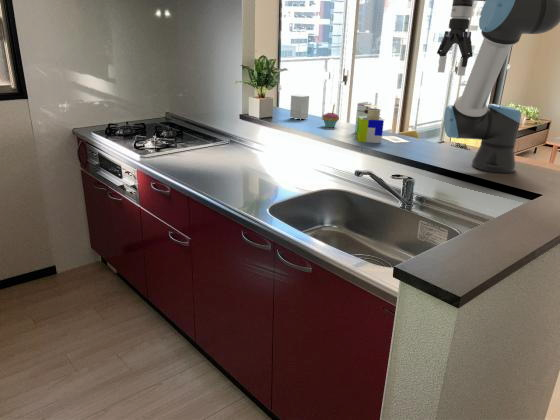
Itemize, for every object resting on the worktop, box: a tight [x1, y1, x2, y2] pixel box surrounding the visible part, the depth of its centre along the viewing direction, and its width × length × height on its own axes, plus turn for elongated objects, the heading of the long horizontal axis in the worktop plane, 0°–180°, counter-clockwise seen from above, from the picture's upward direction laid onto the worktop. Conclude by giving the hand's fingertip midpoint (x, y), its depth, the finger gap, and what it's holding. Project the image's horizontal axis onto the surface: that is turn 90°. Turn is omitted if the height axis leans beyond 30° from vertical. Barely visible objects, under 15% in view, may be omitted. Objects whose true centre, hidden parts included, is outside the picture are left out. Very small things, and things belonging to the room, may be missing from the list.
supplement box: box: [289, 94, 310, 121], centre depth 263 cm, size 7×7×13 cm
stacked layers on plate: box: [357, 104, 385, 121], centre depth 217 cm, size 10×9×6 cm
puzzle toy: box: [355, 116, 385, 144], centre depth 219 cm, size 10×10×10 cm
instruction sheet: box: [382, 135, 410, 144], centre depth 225 cm, size 13×9×1 cm
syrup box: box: [354, 101, 372, 134], centre depth 236 cm, size 6×6×14 cm
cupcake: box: [321, 102, 340, 128], centre depth 245 cm, size 9×8×12 cm
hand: (450, 74), depth 199 cm, fingers open, 13 cm apart
